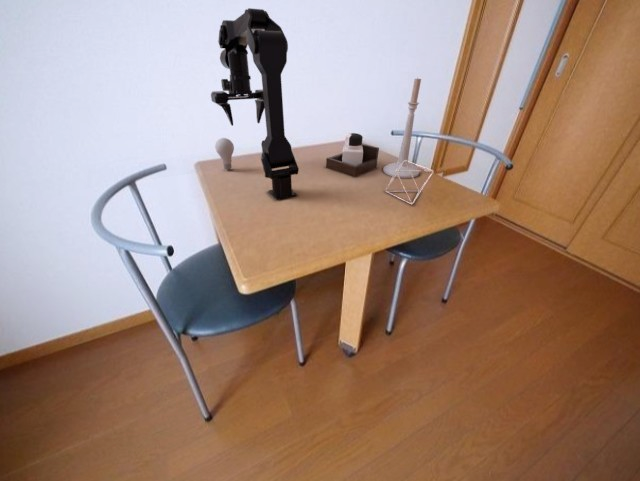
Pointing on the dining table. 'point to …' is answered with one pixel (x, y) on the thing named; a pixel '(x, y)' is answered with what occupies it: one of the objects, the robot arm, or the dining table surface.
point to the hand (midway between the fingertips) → (245, 124)
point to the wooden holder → (354, 170)
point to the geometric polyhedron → (402, 183)
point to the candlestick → (406, 141)
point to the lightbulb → (225, 151)
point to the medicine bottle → (353, 149)
